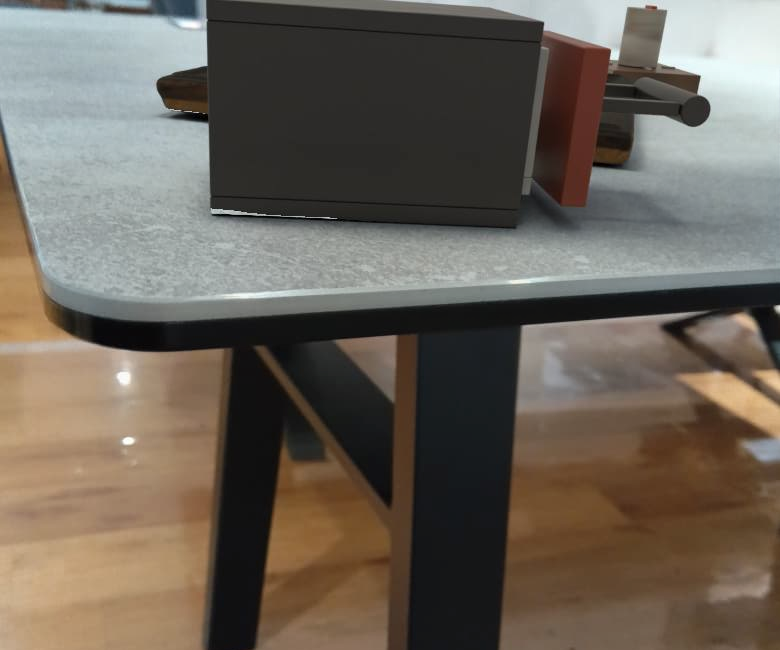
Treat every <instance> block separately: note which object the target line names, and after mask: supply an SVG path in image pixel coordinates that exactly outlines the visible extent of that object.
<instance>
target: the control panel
mask: <svg viewBox="0 0 780 650" xmlns="http://www.w3.org/2000/svg"><path fill="white" fill-rule="evenodd" d="M608 73H610V74H620V75H623V76H625V77H626V78H629V79H631V80H632V84H634V83H635V82H636V81H637V80H638V79H640V78H643V77H648V78H651V79H654V80H657V81H660V82H663V83H666V84H668V85H671V86H674V87H677V88H680V89H683V90H686V91H689V92H692V93H695V94H698V92H699V89H700V83H701V79H702V75H700V74H697V73H693V72H690V71H688V70H683V69H680V68H677V67H676V66H670V65H666V64H663V63H659V62H658V64H657V67H656V68H648V67H645V68H641V67H631V66H624V65H619V64H618V59H610V62H609V68H608Z"/></svg>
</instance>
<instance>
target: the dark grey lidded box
mask: <svg viewBox="0 0 780 650" xmlns="http://www.w3.org/2000/svg"><path fill="white" fill-rule="evenodd" d="M205 18H206V22H205V23H206V24H205V25H206V64H207V65H206V66H207V75H208V115H207V116H208V166H209V167H208V169H209V173H208V174H209V196H210V197H209V209H210V208H212V209H223V210H234V211H241V212H247V213H257V214H266V215H281V216H305V217H330V218H337V219H347V220H346V221H350V220H359V221H358V222H373V221H377V222H376V223H396V222H397V223H398V224H420V225H421V224H422V225H445V226H446V225H447V226H468V227H493V228H513V229H516V228H518V226H519V217H520V208H521V201H522V196H523V195H522V187H523V180H524V172H525V165H526V157H527V150H528V142H529V135H530V127H531V120H532V112H533V105H534V97H535V90H536V82H537V75H538V67H539V60H540V52H541V43H540V42H542V38H543V30H544V28H545V21H544V20H539V19H536V18H532V17H528V16H524V15H519V14H516V13H512V12H508V11H504V10H501V9H496V8H493V7H489V6H474V5H463V4H462V5H461V4H446V3H433V2H432V3H431V2H420V1H419V2H418V1H403V0H205ZM379 221H380V222H379Z"/></svg>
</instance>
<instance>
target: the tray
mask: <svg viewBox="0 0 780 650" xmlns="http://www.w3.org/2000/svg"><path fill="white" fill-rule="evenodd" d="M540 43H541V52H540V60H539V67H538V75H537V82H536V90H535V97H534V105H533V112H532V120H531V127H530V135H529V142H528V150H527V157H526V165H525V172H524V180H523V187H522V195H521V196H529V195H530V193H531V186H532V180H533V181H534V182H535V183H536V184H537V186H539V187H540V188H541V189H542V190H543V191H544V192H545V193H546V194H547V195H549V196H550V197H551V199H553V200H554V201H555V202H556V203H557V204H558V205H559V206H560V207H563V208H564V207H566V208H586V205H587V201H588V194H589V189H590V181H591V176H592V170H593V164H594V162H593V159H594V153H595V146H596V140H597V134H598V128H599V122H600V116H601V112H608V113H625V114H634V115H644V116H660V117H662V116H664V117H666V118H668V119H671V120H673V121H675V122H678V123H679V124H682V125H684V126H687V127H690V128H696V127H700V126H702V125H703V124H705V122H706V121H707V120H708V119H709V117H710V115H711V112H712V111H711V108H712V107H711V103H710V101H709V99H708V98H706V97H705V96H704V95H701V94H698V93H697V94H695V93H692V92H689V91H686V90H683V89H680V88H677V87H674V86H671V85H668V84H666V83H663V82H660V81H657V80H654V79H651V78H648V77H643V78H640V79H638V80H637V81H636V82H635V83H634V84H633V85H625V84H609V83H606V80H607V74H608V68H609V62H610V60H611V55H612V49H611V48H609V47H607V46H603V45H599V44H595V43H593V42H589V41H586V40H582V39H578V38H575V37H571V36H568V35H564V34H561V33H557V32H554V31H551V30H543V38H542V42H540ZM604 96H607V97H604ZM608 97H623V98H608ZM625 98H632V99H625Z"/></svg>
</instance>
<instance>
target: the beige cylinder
mask: <svg viewBox="0 0 780 650" xmlns="http://www.w3.org/2000/svg"><path fill="white" fill-rule="evenodd" d="M667 16H668V10H667V9H663V8H658V6H656V5H651V4H645V5H644V7H640V6H627V7H626V12H625V17H624V23H623V30H622V37H621V42H620V48H619V54H618V59H617V60H618V64H619V65H624V66H631V67H641V68H645V67H648V68H656V67H657V64H658V63H659V59H660V58H659V57H660V53H661V47H662V42H663V36H664V32H665V25H666V21H667Z"/></svg>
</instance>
